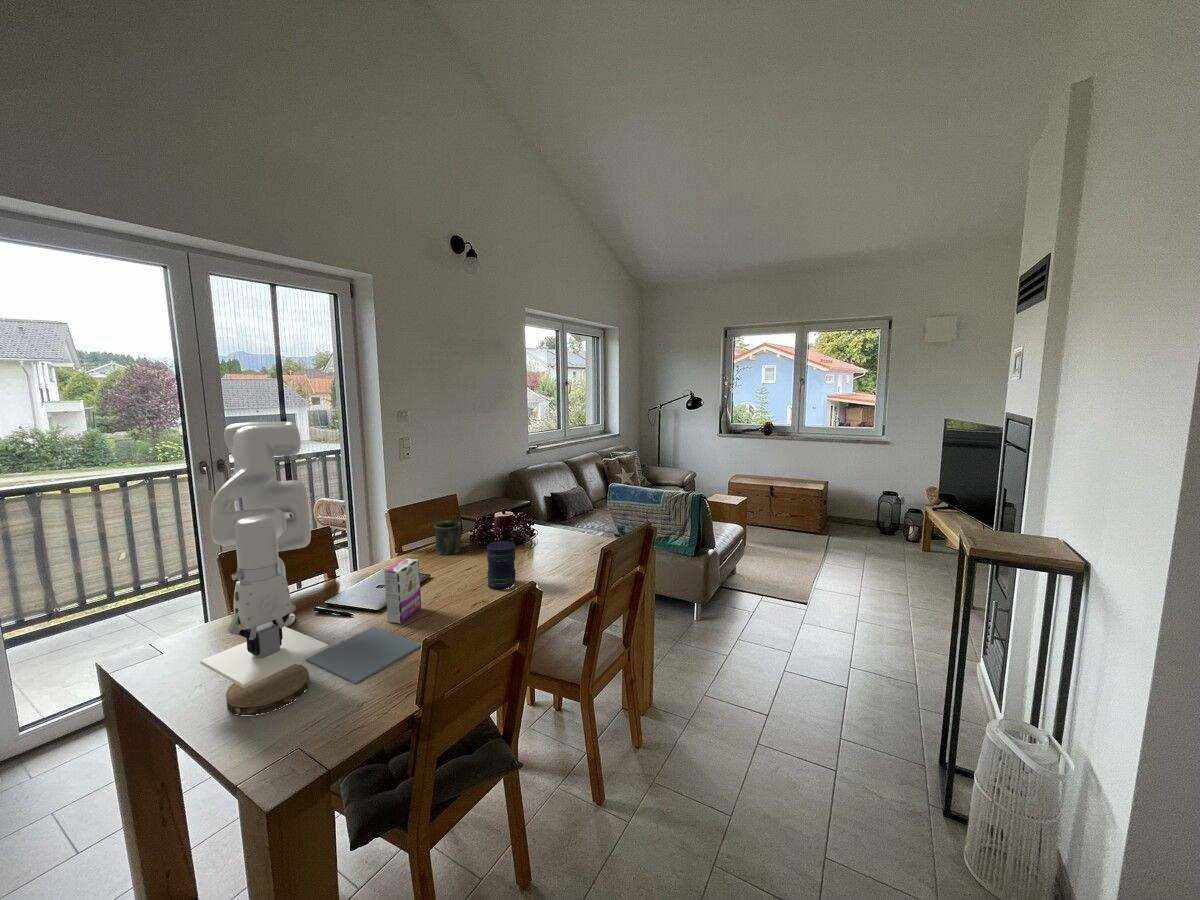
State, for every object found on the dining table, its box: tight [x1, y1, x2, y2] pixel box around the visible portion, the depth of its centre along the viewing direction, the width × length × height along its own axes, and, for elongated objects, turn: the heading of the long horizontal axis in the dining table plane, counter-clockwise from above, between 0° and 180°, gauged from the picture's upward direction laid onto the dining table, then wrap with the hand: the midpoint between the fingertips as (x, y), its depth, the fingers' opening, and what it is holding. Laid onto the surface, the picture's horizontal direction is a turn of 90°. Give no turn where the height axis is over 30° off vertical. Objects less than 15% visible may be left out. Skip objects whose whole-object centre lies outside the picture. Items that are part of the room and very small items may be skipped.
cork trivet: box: [225, 663, 310, 715], centre depth 114 cm, size 16×16×3 cm
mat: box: [305, 626, 422, 685], centre depth 131 cm, size 20×20×1 cm
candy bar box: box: [384, 558, 422, 625], centre depth 152 cm, size 11×5×16 cm, turn 168°
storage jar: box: [486, 540, 516, 591], centre depth 175 cm, size 10×10×15 cm
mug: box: [433, 520, 463, 556], centre depth 212 cm, size 11×15×12 cm
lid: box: [199, 622, 330, 688], centre depth 112 cm, size 18×18×7 cm
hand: (265, 648), depth 112 cm, fingers closed on lid, 4 cm apart
